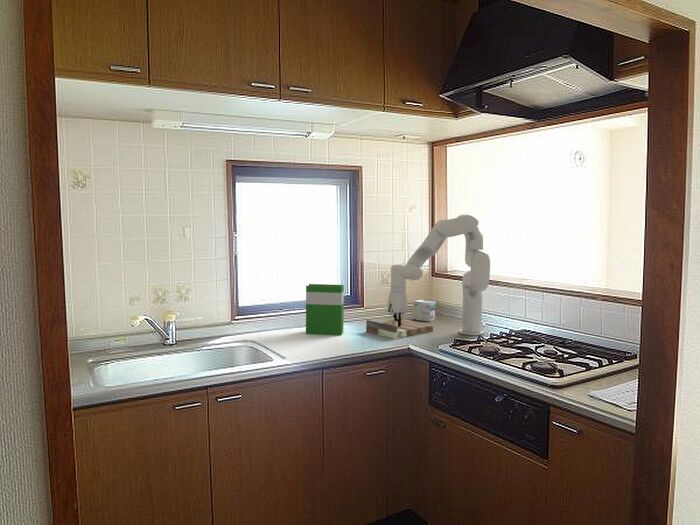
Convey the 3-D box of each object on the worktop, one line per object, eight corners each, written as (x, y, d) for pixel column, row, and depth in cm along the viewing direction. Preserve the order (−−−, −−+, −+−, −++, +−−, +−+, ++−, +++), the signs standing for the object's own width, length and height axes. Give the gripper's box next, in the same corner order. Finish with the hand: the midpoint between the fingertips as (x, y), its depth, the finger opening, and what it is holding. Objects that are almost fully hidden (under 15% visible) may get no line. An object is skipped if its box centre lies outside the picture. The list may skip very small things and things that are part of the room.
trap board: (404, 324, 281) (404, 313, 281) (432, 331, 266) (433, 319, 266) (366, 331, 263) (366, 320, 262) (394, 339, 248) (395, 326, 248)
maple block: (390, 327, 260) (390, 319, 259) (397, 329, 256) (397, 321, 255) (383, 328, 256) (383, 320, 256) (390, 330, 253) (390, 322, 252)
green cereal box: (305, 334, 257) (306, 285, 255) (308, 330, 264) (309, 284, 262) (341, 335, 255) (341, 286, 253) (343, 332, 262) (343, 284, 260)
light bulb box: (435, 319, 297) (435, 301, 296) (430, 321, 291) (430, 302, 290) (418, 317, 302) (418, 299, 302) (413, 319, 297) (413, 300, 296)
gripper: (402, 287, 265) (402, 323, 267) (382, 290, 255) (381, 326, 257) (414, 289, 259) (413, 325, 261) (393, 291, 250) (392, 329, 251)
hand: (397, 326), depth 259 cm, fingers closed
